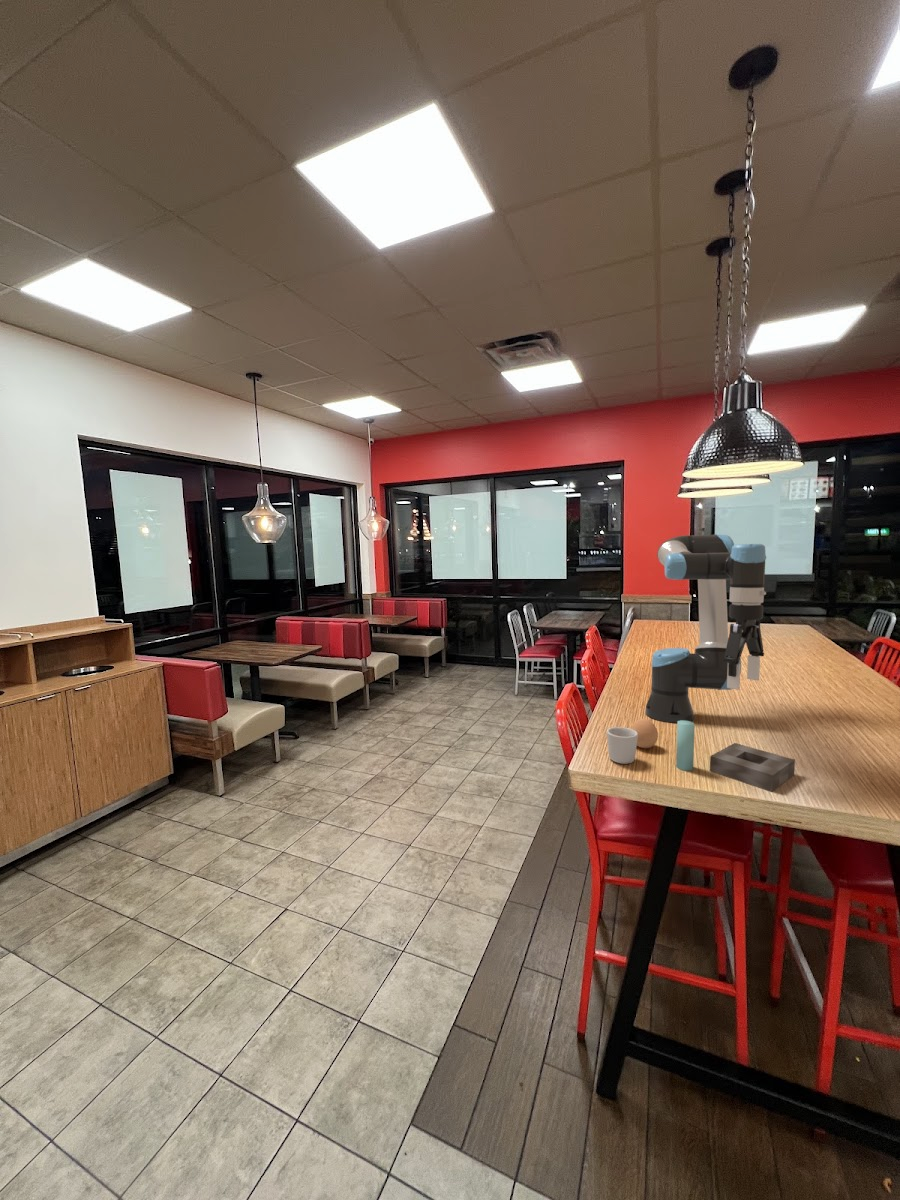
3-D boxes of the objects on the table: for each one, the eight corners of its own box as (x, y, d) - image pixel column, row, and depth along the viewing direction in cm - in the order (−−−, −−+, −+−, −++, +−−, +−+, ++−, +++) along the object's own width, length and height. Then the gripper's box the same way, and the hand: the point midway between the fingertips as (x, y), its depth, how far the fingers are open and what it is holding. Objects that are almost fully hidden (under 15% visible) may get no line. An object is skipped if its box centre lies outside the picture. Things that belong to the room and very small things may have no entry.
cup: (597, 751, 136) (598, 723, 135) (624, 749, 136) (625, 722, 136) (613, 767, 125) (614, 737, 124) (642, 765, 126) (643, 736, 125)
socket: (709, 770, 122) (710, 755, 122) (734, 756, 130) (734, 742, 130) (771, 791, 111) (772, 775, 110) (794, 774, 119) (794, 759, 119)
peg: (673, 767, 125) (674, 722, 124) (681, 763, 127) (682, 719, 126) (688, 772, 121) (689, 726, 120) (696, 768, 124) (697, 723, 123)
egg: (624, 745, 140) (625, 716, 139) (643, 741, 143) (644, 713, 142) (644, 754, 133) (644, 724, 132) (663, 749, 136) (664, 720, 135)
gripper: (744, 608, 112) (740, 695, 114) (779, 601, 128) (776, 678, 130) (710, 606, 118) (708, 689, 120) (748, 600, 134) (745, 674, 135)
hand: (743, 684), depth 125 cm, fingers open, 13 cm apart
